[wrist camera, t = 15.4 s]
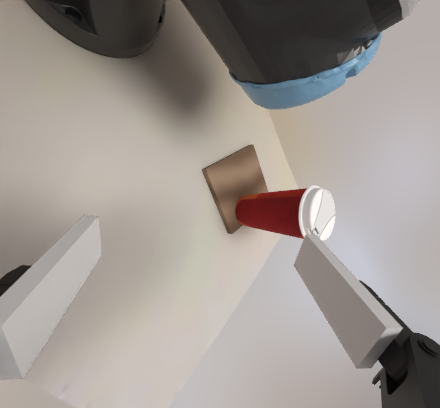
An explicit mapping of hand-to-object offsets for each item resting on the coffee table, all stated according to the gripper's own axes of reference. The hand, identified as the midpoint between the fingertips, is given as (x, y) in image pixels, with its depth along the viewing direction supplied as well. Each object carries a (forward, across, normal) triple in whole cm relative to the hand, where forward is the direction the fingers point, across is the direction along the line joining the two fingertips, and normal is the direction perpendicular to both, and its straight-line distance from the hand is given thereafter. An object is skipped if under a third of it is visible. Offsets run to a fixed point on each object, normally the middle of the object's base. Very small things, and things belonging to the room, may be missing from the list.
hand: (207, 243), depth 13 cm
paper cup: (+22, +9, -8) cm, 25 cm away
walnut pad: (+24, +8, -4) cm, 26 cm away
